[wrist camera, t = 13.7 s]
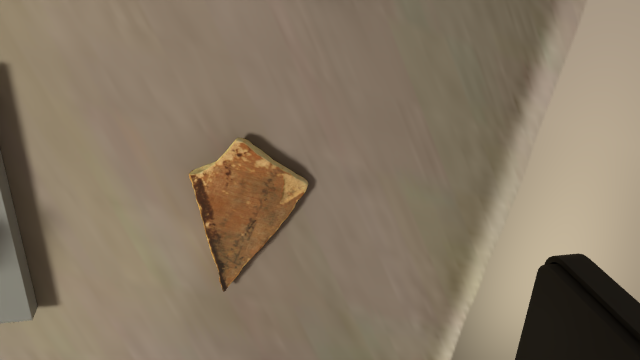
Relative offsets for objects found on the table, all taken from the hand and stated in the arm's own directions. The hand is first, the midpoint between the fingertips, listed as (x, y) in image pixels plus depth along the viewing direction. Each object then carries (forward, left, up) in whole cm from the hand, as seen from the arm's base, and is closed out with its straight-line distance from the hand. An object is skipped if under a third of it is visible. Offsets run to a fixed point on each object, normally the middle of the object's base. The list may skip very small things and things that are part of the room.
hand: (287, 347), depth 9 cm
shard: (+13, +2, -29) cm, 32 cm away
